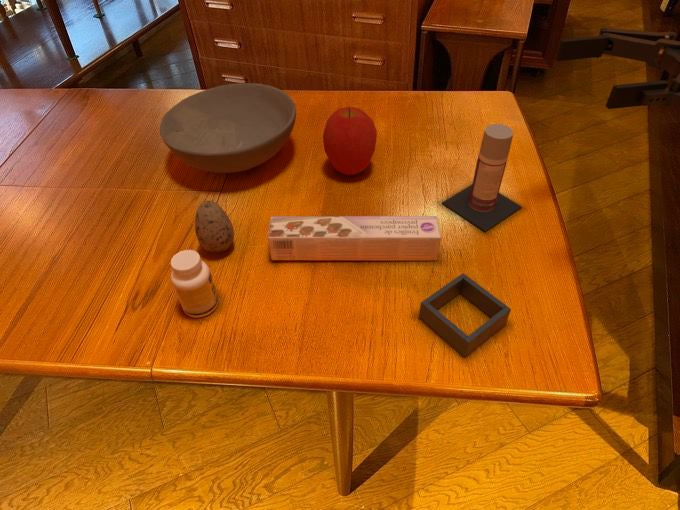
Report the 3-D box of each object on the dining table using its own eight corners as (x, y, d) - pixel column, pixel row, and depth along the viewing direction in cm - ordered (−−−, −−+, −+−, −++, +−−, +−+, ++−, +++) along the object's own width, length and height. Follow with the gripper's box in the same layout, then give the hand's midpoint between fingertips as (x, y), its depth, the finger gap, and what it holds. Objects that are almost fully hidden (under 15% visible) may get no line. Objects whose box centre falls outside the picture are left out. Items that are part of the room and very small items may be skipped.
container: (475, 192, 90) (491, 120, 79) (499, 202, 88) (519, 129, 77) (463, 206, 87) (478, 132, 76) (487, 216, 85) (506, 142, 74)
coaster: (521, 208, 87) (522, 206, 87) (484, 232, 83) (485, 231, 83) (478, 182, 93) (478, 180, 92) (441, 204, 88) (442, 202, 88)
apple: (384, 178, 94) (387, 113, 84) (335, 190, 92) (332, 125, 82) (364, 150, 101) (364, 87, 91) (318, 161, 99) (313, 97, 89)
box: (434, 238, 82) (438, 213, 78) (438, 261, 78) (442, 235, 74) (273, 240, 83) (269, 215, 79) (270, 263, 79) (265, 238, 75)
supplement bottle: (225, 307, 73) (211, 263, 66) (191, 324, 71) (173, 280, 64) (210, 285, 76) (195, 240, 69) (177, 301, 74) (158, 256, 67)
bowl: (263, 208, 89) (254, 163, 82) (145, 179, 96) (128, 135, 89) (320, 135, 106) (317, 92, 98) (216, 114, 113) (206, 73, 106)
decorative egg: (242, 239, 83) (231, 193, 76) (228, 263, 79) (216, 217, 72) (210, 233, 84) (197, 188, 77) (195, 257, 80) (179, 212, 73)
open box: (505, 324, 70) (511, 309, 67) (464, 357, 66) (468, 343, 63) (459, 287, 74) (463, 272, 72) (418, 317, 71) (420, 302, 68)
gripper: (789, 131, 59) (624, 150, 57) (664, 47, 76) (534, 59, 74) (833, 71, 53) (652, 90, 52) (687, -5, 71) (548, 7, 69)
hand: (582, 72), depth 63 cm, fingers open, 13 cm apart
